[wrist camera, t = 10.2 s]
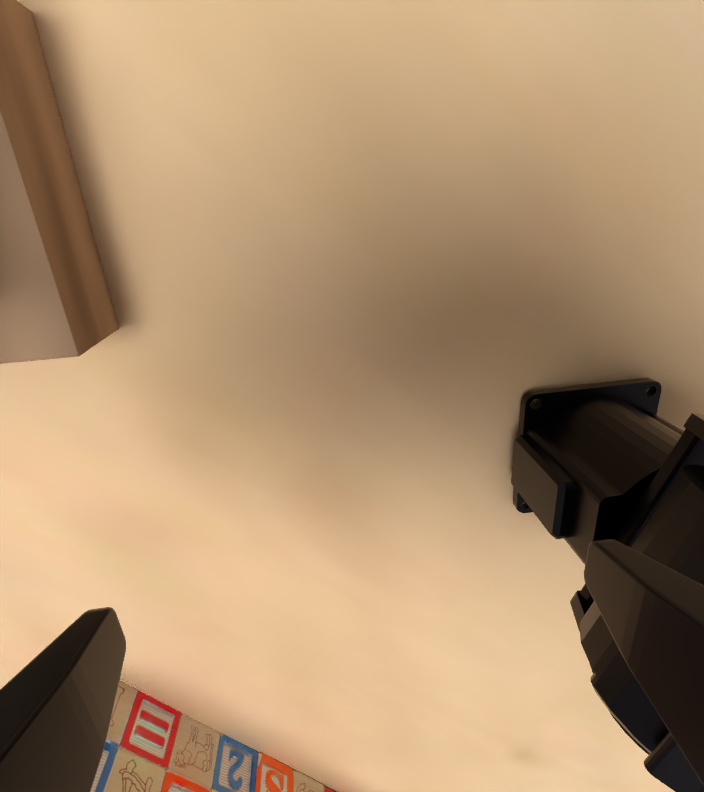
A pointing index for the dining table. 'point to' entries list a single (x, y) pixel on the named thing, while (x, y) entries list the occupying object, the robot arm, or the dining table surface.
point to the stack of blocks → (182, 755)
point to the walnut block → (42, 214)
